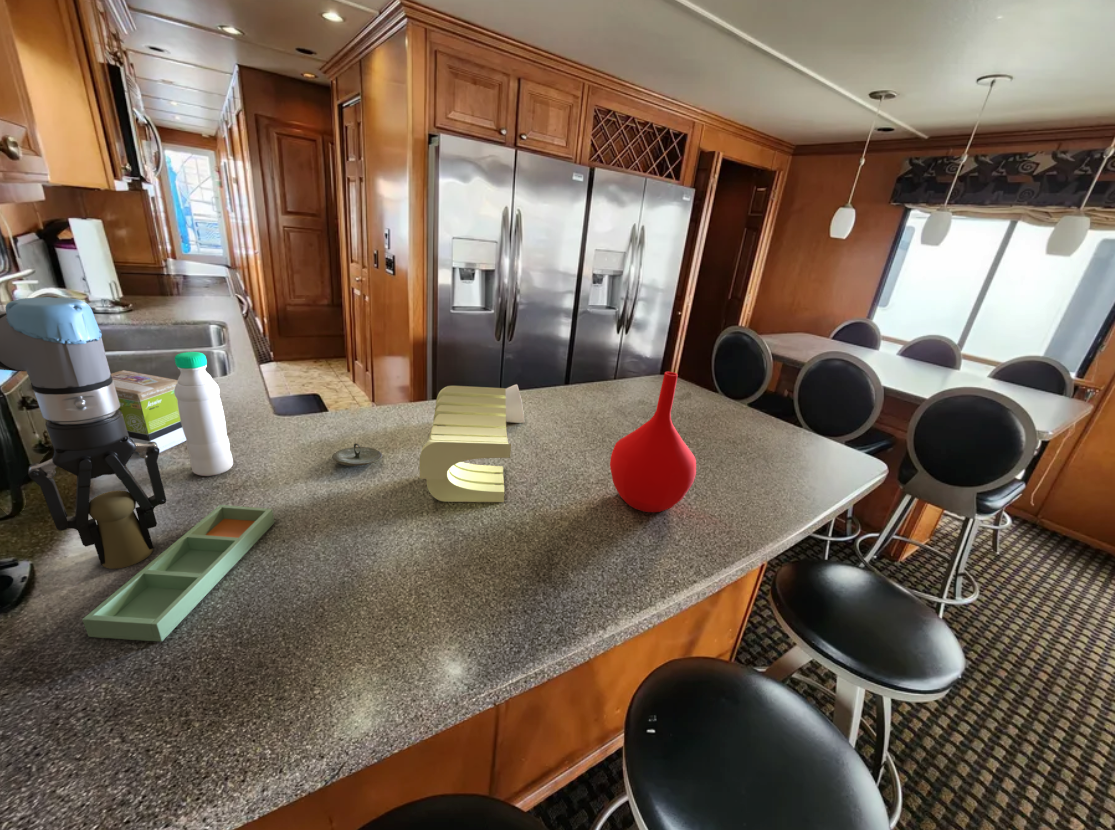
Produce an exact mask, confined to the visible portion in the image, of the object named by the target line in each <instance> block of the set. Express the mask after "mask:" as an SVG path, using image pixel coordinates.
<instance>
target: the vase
mask: <svg viewBox="0 0 1115 830" xmlns="http://www.w3.org/2000/svg"><path fill="white" fill-rule="evenodd" d="M678 376H679V375H678V373H676V372H673V371H665V372H664V374H663V378H662V382H661V387H660V391H659V395H658V399H657V406H656V409H655V412H654V414H653V416H651V418H650V419H649V420H648V421H646V422H645V423H643V424H642V425H640V426H639V427H638V428H636V429H635V430H634V431H632V432H630V433H628V434H627V435H625V436H622V438H620V439H619V440H617V441H616V443H615V444H614V447H613V449H612V452H611V455H610V462H609V466H610V473H611V478H612V483H613V485H614V486H613V487H615V490H616V491H617V493H618V495H619V496H620V497H621V499H622V500H623V501H624V502H625V503H626V504H627V505H628V506H630V507H631V508H633V509H635V510H638V511H641V512H645V513H653V514H654V513H660V512H664V511H667V510H669V509H671V508H673V507H674V506H675V505H677V504H679V502H680V501H682V500H683V499H684V497H685V496H686V495H687V493H688V491H689V490H690V488H691V487H692V486H693V484H694V482H695V480H696V479H695V478H696V475H697V460H696V459H697V458H696V457H695V455H694V453H693V452H692V451H691V449H690V448H689V447H688V445H687V444H686V443H685V441H684V439H683V438H682V437H681V435H680V434H679V432H678V430H677V429H676V428H675V426H674V423H673V420H672V415H671V412H672V408H673V403H674V398H675V392H676V387H677V382H678Z"/></svg>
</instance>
